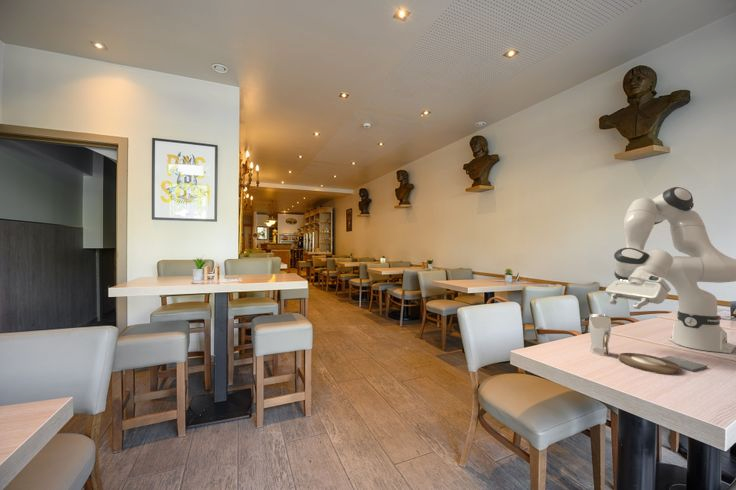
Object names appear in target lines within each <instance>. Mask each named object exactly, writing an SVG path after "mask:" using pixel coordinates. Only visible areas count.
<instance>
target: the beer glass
mask: <svg viewBox="0 0 736 490" xmlns="http://www.w3.org/2000/svg"><path fill="white" fill-rule="evenodd" d="M588 329H589V334H590V339H591V341H590V342H591V344H590V345H591V346H590V352H591V353H592V354H595V355H598V356H605V357H606V356H610V348H609V343H610V339H611V332H612V320H611V316H610V315H607V314H599V313H589V320H588Z"/></svg>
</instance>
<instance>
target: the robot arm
mask: <svg viewBox="0 0 736 490" xmlns="http://www.w3.org/2000/svg"><path fill="white" fill-rule="evenodd" d="M694 204H695V203H694V197H693V195H692V193H691V192H690V191H689V190H688V189H686V188H684V187H680V186H679V187H678V186H674V187H670V188H668V189H666V190H665V191H664V192H662V193H660V194H658V195H657V196H655V197H654V198H652V199H651V198H648V197H647V198H646V197H641V198H637V199H634V200H633V201H632V202H631V203H630V205H629V207H628V208H627V210H626V213H625V215H624V217H623V233H624V238H625V239H624V240H625V247H623V248H622V247H621V248H620V249H618V250H616V251H615V252H614V256H613V258H614V259H613V261H614V277H615V278H616V279H617V280H614V281H613V282H611V283H610V284H609V285H608V286H607V287H606V288H605V293H606V294H607V295H608V296H609V297H610V298H611V299H610V300H609V303H610V305H615V306H616V304H617V303H618V301H617V299H624V300H625V299H626V300H631V301H636V302H634V304H633V305H632V306H633V308H634V309H637V310H640V309H641V308H642V307H645V306H647V305H648V304H655V305H659V304H662V303H664V301H665V300H666V299H667V297H668V296H669V293H670V291H671V290H672V288H671V287H670V285H669V284H668V283H670V284H671V286H672V287H673V288H674V289H675V291H676V293H677V298H678V299H677V300H678V311H677V313H676V314H677V315H676V316H677V318H676V319H677V321H675V322H673V324H672V325H673V327H672V335H671V336H672V337H668V341H670V342H673V343H674V344H676V345H678V346H682V347H686V348H690V349H695V350H699V351H700V350H701V351H707V352H715V353H716V352H717V353H726V354H732V353H733V351H734V350H736V349H735V348H736V345H735V344H733V343H729V342H728V333H727V332H726V331H725V330H724V329H723V328H722V326H721V323H720V321H721V319H722V316H721V315H718V299H717V297H716V296H715V295H714V294H713V293H711V292H709V291H707V290H704V289H703V288H702V289H701V288H700V287H699V286H698V283H714V284H715V283H716V284H717V283H719V284H721V283H733V282H736V259H735V258H732V257H730V256H728V255H726V254H724V253H723V252H721V251H719V250H718V249H717V248H716V247H715V246H714V245H713V243H711V240H710V238H709V235H708V231H707V228H706V225H705V223H704V221H703V219H702V217H701V215H700V214H699V213H698V212H697V211H696V210H693V208H694ZM665 220H667V221H668V223H669V228H670V230H669V231H670V235H671V239H672V244H673V247H674V249H675V250H677V251H678V252H679V253H682V254H684V256H683V255H682V256H677V255H676V256H672V255H671V254H670V253H669V252H667V251H666V250H663V249H660V248H659V249H658V248H657V249H655V248H654V249H650V250H649V249H648V250H645V249H644V248H645V246H646V243H647V242H648V239H649V237H650V235H651V232H652V230H653V229H654V226H655V225H658V224H660V223H662V222H664V221H665ZM685 255H687V256H685ZM666 281H667V282H668V283H667V282H666ZM637 301H638V302H637Z"/></svg>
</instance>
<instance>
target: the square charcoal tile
mask: <svg viewBox="0 0 736 490" xmlns="http://www.w3.org/2000/svg"><path fill="white" fill-rule="evenodd" d="M661 358H662V359H666V360H669V361H671V362H674V363H676V364H678V365H679V366H680V367H681V370H684V371H688V372H692V373H693V372H698V371H701V370H704V369H708V365H706V364H702V363H698V362H695V361H692V360H687V359H683V358H680V357H675V356H671V355H667V356H662V357H661Z"/></svg>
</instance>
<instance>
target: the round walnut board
mask: <svg viewBox="0 0 736 490" xmlns="http://www.w3.org/2000/svg"><path fill="white" fill-rule="evenodd" d="M618 360H619V361H620V362H621V363H622V364H624V365H626V366H628V367H631V368H634V369H637V370H641V371H644V372H648V373H649V372H650V373H654V374H658V375H659V374H660V375H672V376H673V375H679V374H681V370H682V369H681V367H680V366H679V365H678V364H676V363H674V362H671V361H669V360H666V359H662V357H659V356H654V355H650V354H645V353H635V352H623V353H622V352H621V353H618Z"/></svg>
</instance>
